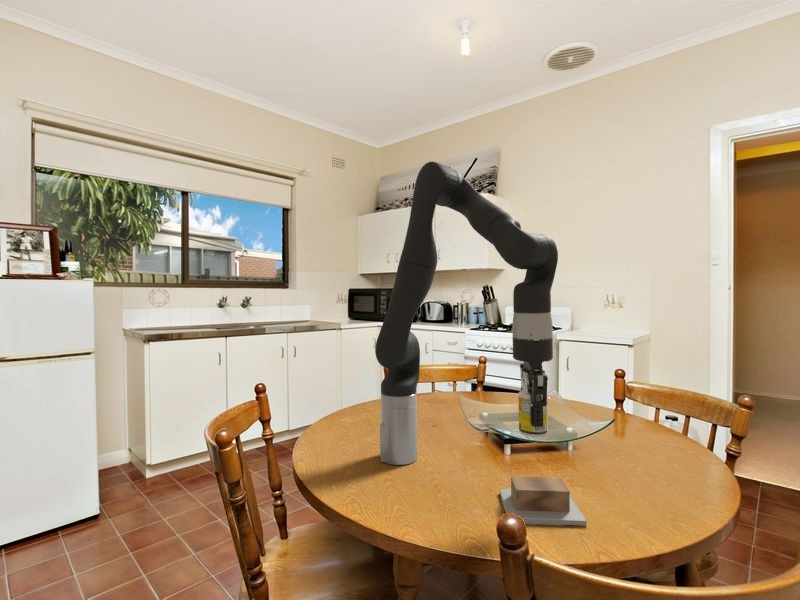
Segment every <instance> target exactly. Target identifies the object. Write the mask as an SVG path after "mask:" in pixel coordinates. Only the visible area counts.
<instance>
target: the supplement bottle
mask: <svg viewBox="0 0 800 600" xmlns="http://www.w3.org/2000/svg"><path fill="white" fill-rule="evenodd" d="M530 389H532V388H530ZM548 395H549V394H548V393H547V406H544V407H543V426H542V427H533V426H532V425H531V423H530V399H529V395H528V394H527V393H526V384H525V381H523V382H522V390H521V389H520V391H519V392H518V398H517V399H518V401H517V402H518V430H519V434H521V435H523V436H525V437H529V438H544V437H546V436H548V435H549V396H548ZM536 399H540V396H539V395H536Z"/></svg>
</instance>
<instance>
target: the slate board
mask: <svg viewBox="0 0 800 600" xmlns="http://www.w3.org/2000/svg"><path fill="white" fill-rule="evenodd" d="M499 495H500V499H501V502H502V505H503V508H504V512H505V511H506V512H505V514H506V513H514V514H516V515H518V516H520V517H521V518H522V519H523V520H524V522H525V523H526V524H525V525H533V524H541V525H540V526H542V524H543V525H544V526H564V525H580V526H579V527H588V526H587V525H588V521H587V519H586V518H585V516H584V514H583V513H582V511H581V510H580V508H579V507H578V505H577V504H576V503H575V502H576V501H574V499H573V498H572V496H571V495H570V512H549V511H521V510H516V508H515V505H514V502H513V499H512V497H511V488H500V489H499ZM581 525H582V526H581Z"/></svg>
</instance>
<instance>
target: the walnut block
mask: <svg viewBox="0 0 800 600" xmlns="http://www.w3.org/2000/svg"><path fill="white" fill-rule="evenodd" d="M510 489H511V497H512V499H513V502H514V505H515V508H516V510H521V511H549V512H570V496H571V494H570V489H568V486H567V485H566V483H565V482H564V480H563V479H562V478H561V477H541V476H539V477H538V476H510Z"/></svg>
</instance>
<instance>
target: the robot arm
mask: <svg viewBox="0 0 800 600" xmlns="http://www.w3.org/2000/svg"><path fill="white" fill-rule="evenodd" d="M412 193H413V194H412V202H411V208H410V214H409V220H408V225H407V230H406V235H405V238H404V239H405V240H404V243H403V247H402V251H401V254H400V257H399V261H398V266H397V270H396V275H395V279H394V283H393V286H392V291H391V293H390V298H389V299H390V300H389V304H388V308H387V311H386V313H385V316H384V319H383V323H382V325H381V327H380V330H379V332H378V333H379V334H378V336H377V339H376V343H375V347H374V350H375V351H374V353H375V358H376V360H377V362H378V363H379V365H380V366H381V367H383V368H385V369H387V373H386V375H385V376H384V378H383V379H382V381H381V384H380V411H381V414H380V420H381V421H380V425H379V445H380V446H379V448H380V449H379V451H380V453H379V454H380V455H379V456H380V463H385V464H388V465H395V466H403V465H405V466H406V465H409V464H413V463H415V462H416V461H417V460H418V427H417V426H418V425H417V424H418V417H417V416H418V410H417V409H418V408H417V406H418V405H417V402H418V401H417V397H418V395H417V392H418V391H417V389H418V388H417V387H418V383H419V380H420V370H421V369H420V365H421V364H420V363H421V361H420V360H421V349H420V343H419V340H418V338H417V336H416V335H415V334H414V333H413V332H412V331H411V328H412V325H413V321H414V318H415V316H416V314H417V312H418V310H419V309H420V307H421V305H422V304H423V302H424V301H425V299H426V297H427V296H428V294H429V292H430V289H431V286H432V284H433V280H434V278H435V272H436V268H437V265H438V251H437V245H436V242H435V241H436V240H435V237H434V232H433V223H434V221H433V220H434V215H435V209H436V206H439V207H446V208H448V209H451V210H454V211H456V212H457V213H459V214H461V215H462V216H464V217H465V218H466V219H467V221H468V223H469V225H470V226H471V228H472V229H473V231H475V232H476V233H478V234H479V236H481V237H482V238H483V239H485V240H486V241H487V242H489V243H490V244H492V245H493V246H494V248H495V250H496V252H498V254H499V256H501V258H502V259H503V261H504V262H506V263H507V264H508V265H509V266H511V267H513V268H515V269H518V270H526V271H525V275H524V276H525V277H524V279H523V281H521V282H518V283H517V284H516V285H515V286H514V287H513V293H512V296H513V299H512V301H513V306H512V307H513V315H512V326H511V328H512V358H513V359H514V360H515V361H518V362H523V363H520V365H519V369H520V391H521V390H522V382H523V381H525V384H526V393H527V394H528V395H529V399H530V423H531V425H532V426H533V427H542V426H543V407H544V406H547V394H548V380H549V377H548V375H547V374H546V371H545V370H543V369H544V368H543V363H544V362H551V361H552V360H553V358H554V352H553V351H554V350H553V349H554V345H553V342H554V341H553V339H554V338H553V332H554V331H553V320H552V319H553V318H552V310H551V309H552V304H551V303H552V300H551V299H552V295H551V294H552V293H551V291H552V287H553V283H554V278H555V276H556V270H557V265H558V261H559V260H558V259H559V252H558V248H557V244H556V242H555V240H554V239H553V238H552V237H551V236H549V235H547V234H544V233H535V232H534V233H533V232H527V231H525V230H523V229H522V226H521V224H520V222H519V221H518V219H517V218H516V217H514V216H513V215H512V214H510V213H509V212H508V211H506V210H505V209H503V208H501V206H498V205H497V204H495V203H494V202H492V201H490V200H489V199H487V198H486V197H484V196H483V195H482V194H480V192H478V191H477V190H476V188H474V187H473V185H471V183H469V182H468V180H467V179H466V178H465V177H464V176H463V175H462V174H461V173H460V172H459V171H458V170H456V169H454V168H451V167H449V166H447V165H444V164H442V163H439V162H436V161H428V162H426V163H425V164H423V166H422V167H421V168H420V169H419V172H418V174H417V176H416V179H415V183H414V189H413V192H412ZM530 388H532V389H530ZM536 395H539V396H540V399H536Z"/></svg>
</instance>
